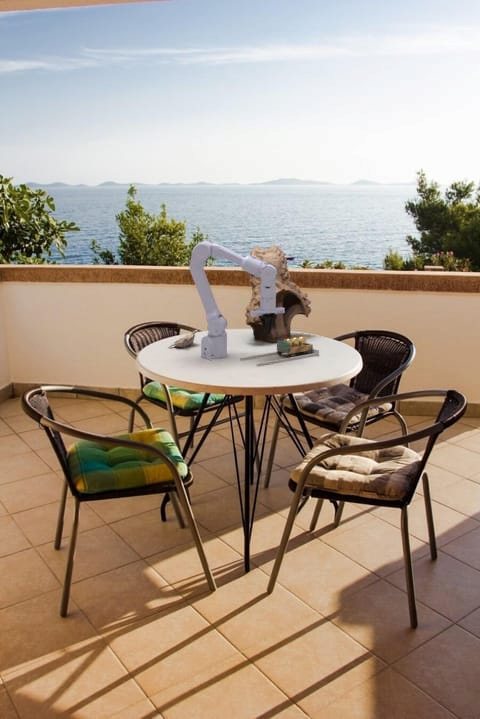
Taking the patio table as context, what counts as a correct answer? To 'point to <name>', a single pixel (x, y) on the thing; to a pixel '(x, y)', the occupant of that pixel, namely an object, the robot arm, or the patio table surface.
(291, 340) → the part
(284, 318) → the bust
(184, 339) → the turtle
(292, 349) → the cart
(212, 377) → the patio table surface
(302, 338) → the part
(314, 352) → the track
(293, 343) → the part
